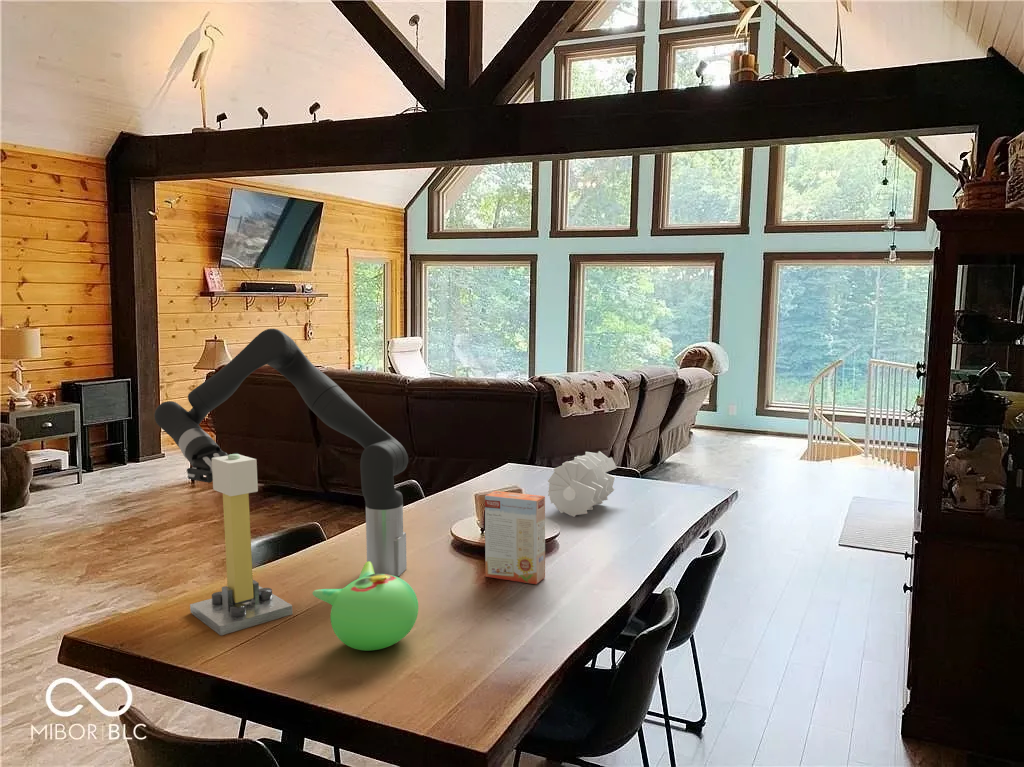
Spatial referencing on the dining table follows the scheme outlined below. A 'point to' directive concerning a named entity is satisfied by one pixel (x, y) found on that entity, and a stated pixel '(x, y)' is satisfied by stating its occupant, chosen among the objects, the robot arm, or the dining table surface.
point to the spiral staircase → (581, 483)
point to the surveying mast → (237, 519)
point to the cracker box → (515, 537)
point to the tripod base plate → (240, 623)
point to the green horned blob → (371, 610)
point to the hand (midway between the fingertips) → (228, 483)
